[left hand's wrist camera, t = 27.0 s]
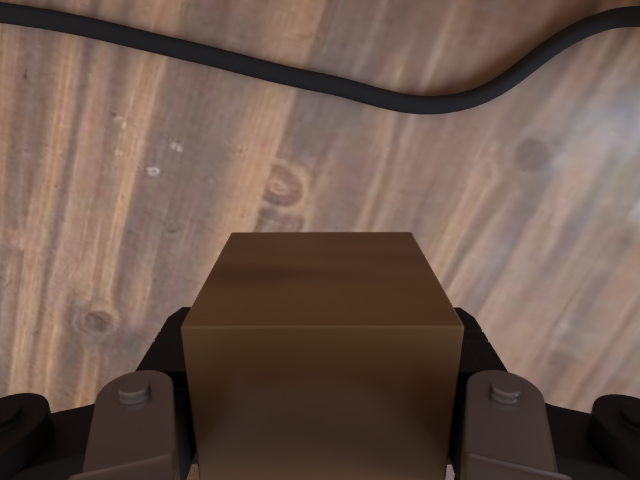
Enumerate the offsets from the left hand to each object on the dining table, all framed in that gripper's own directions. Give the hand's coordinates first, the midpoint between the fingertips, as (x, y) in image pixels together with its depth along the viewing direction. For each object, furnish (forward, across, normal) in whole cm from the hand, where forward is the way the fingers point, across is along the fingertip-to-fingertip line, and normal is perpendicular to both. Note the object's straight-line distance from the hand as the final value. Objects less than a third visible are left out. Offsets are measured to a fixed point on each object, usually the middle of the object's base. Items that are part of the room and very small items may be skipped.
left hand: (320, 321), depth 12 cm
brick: (+1, 0, 0) cm, 1 cm away
